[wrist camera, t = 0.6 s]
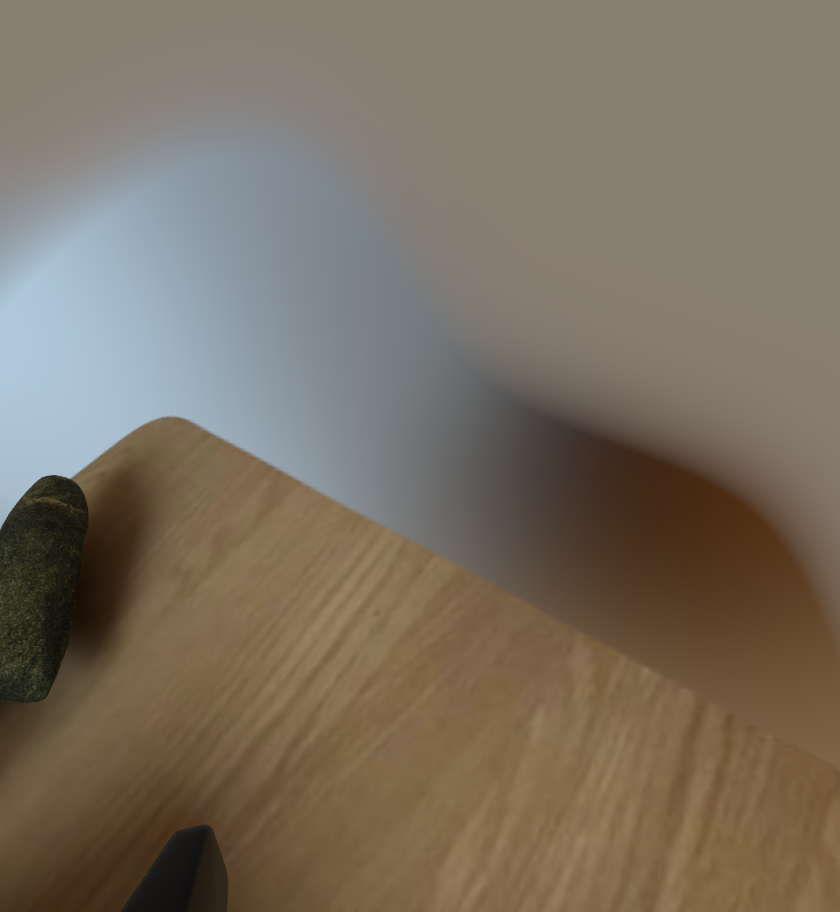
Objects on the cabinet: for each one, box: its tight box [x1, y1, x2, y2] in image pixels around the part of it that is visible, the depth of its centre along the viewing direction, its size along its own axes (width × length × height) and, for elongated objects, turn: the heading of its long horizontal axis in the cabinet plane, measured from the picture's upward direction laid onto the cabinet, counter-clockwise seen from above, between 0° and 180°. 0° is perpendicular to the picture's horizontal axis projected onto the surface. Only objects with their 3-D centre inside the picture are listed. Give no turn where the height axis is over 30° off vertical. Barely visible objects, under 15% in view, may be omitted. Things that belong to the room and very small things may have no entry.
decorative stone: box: [0, 475, 88, 703], centre depth 28 cm, size 11×8×5 cm
